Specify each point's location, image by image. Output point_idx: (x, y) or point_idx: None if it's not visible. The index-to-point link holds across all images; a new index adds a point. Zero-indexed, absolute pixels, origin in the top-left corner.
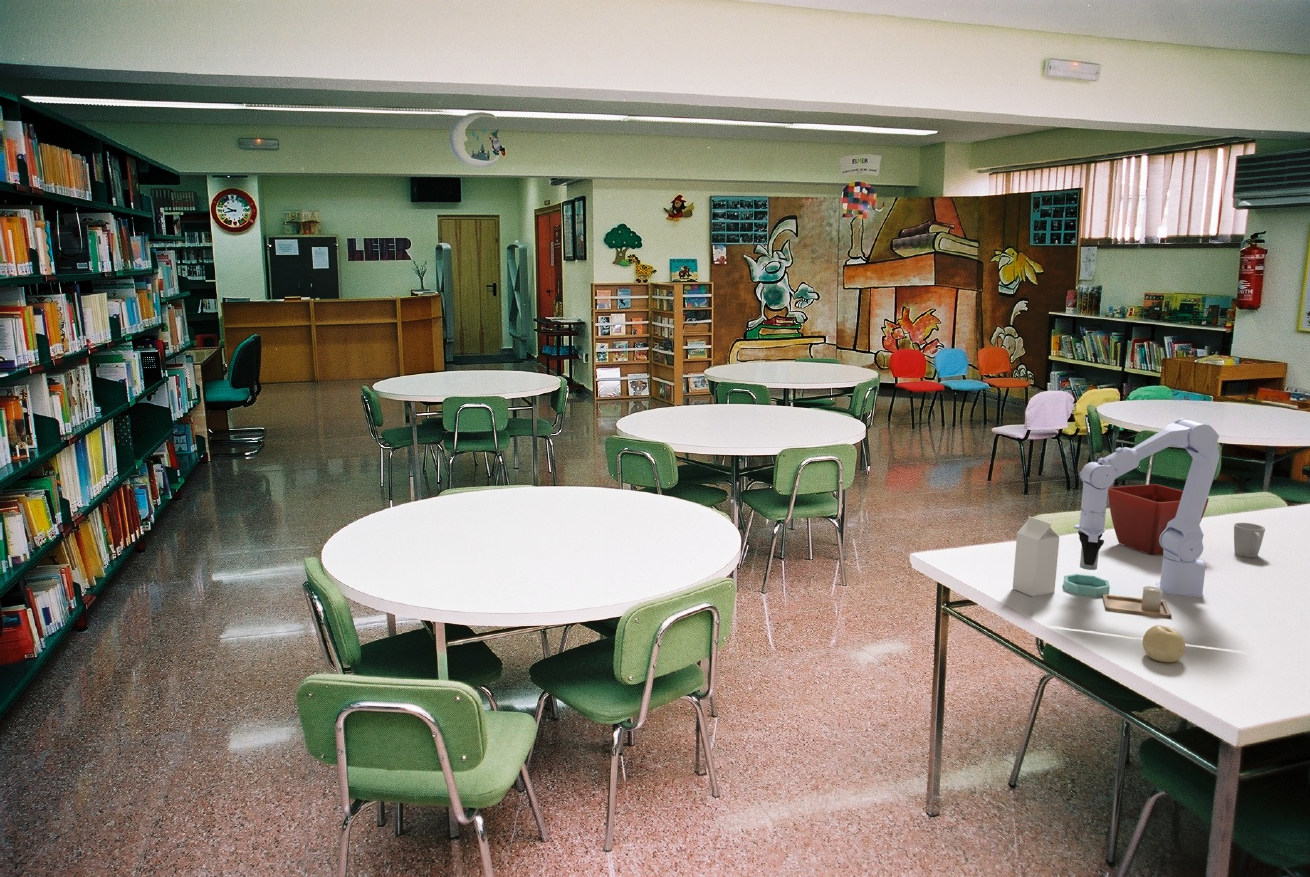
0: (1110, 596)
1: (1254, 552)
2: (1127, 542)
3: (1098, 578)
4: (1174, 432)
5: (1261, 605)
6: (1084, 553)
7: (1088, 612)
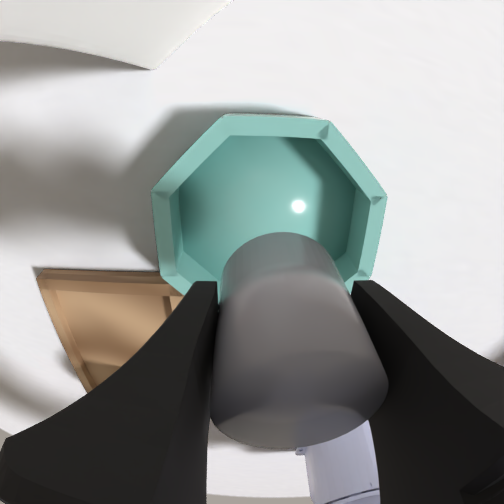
0: (171, 307)
1: None
2: None
3: None
4: None
5: (285, 483)
6: (148, 347)
7: (13, 216)
